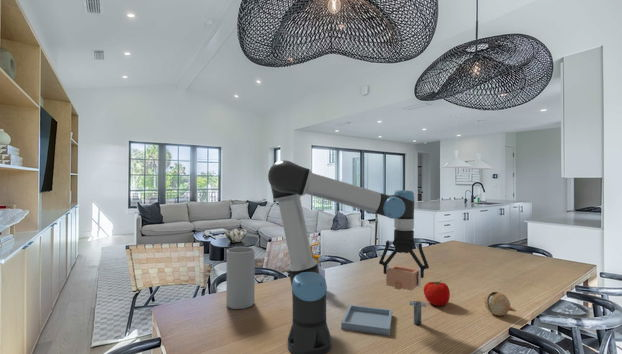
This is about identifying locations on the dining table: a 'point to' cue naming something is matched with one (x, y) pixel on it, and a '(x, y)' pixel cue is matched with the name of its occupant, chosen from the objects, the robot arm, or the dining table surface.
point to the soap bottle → (318, 261)
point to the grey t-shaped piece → (417, 311)
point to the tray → (367, 319)
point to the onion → (498, 304)
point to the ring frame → (402, 277)
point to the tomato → (437, 293)
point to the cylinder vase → (240, 277)
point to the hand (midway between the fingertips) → (403, 284)
